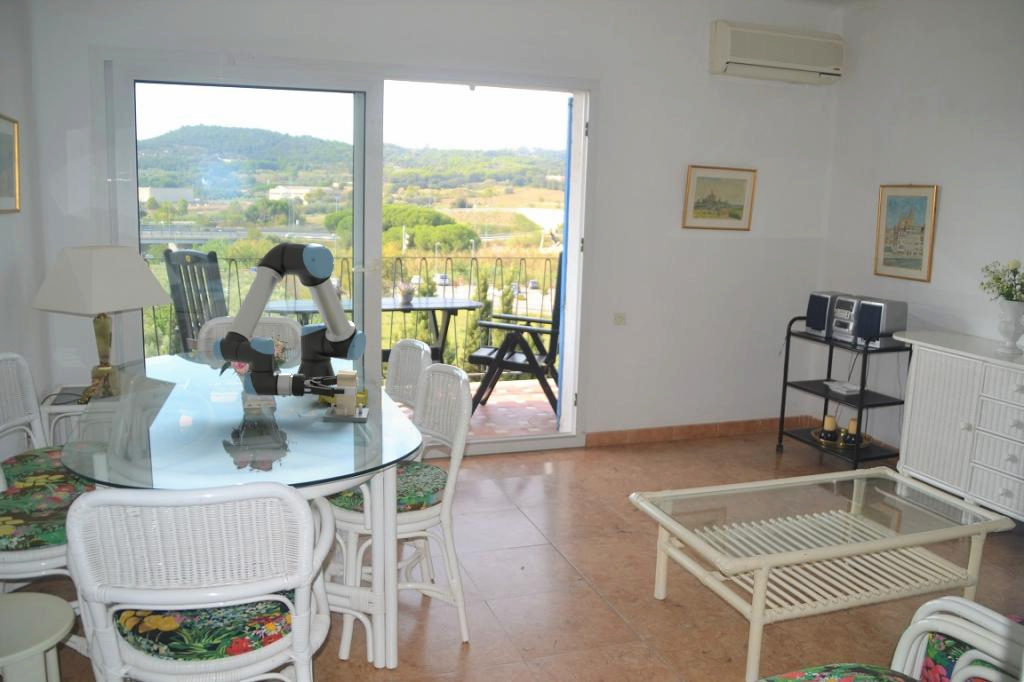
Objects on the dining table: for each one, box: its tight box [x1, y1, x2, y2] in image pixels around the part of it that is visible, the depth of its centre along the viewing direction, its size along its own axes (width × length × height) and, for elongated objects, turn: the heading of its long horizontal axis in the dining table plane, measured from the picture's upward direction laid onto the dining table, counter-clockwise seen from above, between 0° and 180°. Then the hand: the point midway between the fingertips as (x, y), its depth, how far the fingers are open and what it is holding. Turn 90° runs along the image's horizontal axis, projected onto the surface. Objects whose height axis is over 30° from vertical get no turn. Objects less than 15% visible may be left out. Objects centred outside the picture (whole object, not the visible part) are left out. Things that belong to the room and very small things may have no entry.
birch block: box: [336, 369, 358, 415], centre depth 276 cm, size 6×6×14 cm
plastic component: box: [318, 387, 369, 408], centre depth 294 cm, size 20×7×10 cm
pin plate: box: [323, 403, 370, 423], centre depth 277 cm, size 12×14×4 cm
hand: (356, 386), depth 276 cm, fingers open, 13 cm apart
